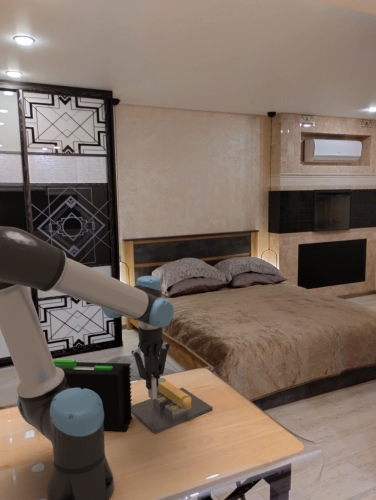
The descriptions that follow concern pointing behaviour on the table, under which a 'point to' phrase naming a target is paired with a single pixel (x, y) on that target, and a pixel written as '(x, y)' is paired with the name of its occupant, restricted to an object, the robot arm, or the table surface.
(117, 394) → the electronic device
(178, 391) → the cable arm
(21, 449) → the table surface
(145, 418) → the chassis plate
